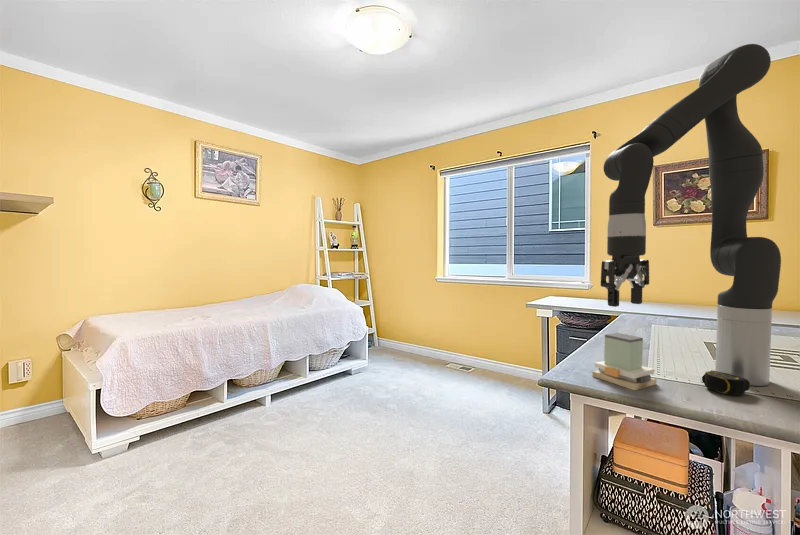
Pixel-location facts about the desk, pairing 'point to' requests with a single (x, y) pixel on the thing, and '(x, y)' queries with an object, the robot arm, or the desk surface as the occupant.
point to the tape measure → (725, 382)
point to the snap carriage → (624, 371)
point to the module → (623, 351)
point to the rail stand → (640, 383)
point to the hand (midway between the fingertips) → (625, 304)
